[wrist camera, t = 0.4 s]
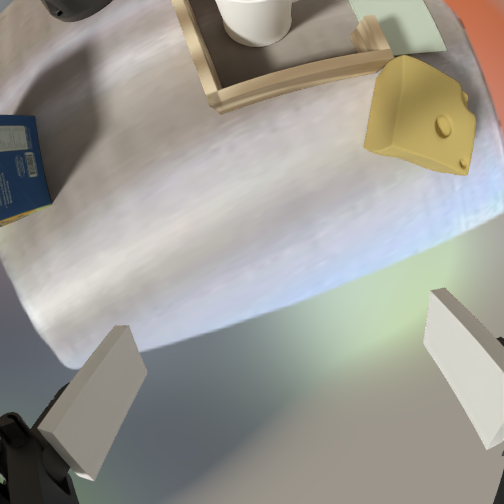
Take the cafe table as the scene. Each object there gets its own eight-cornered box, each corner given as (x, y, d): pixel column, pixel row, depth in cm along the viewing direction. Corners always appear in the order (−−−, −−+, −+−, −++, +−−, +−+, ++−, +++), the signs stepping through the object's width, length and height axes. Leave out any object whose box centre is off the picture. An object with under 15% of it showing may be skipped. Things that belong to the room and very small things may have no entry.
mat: (340, -14, 27) (340, -16, 26) (411, -17, 25) (412, -18, 24) (375, 58, 30) (376, 57, 30) (445, 51, 28) (447, 50, 28)
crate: (173, -15, 28) (156, -38, 21) (310, -51, 25) (315, -78, 18) (221, 114, 34) (209, 105, 27) (374, 73, 31) (394, 58, 24)
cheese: (440, 100, 31) (482, 90, 21) (427, 174, 34) (469, 183, 25) (372, 72, 31) (402, 49, 21) (357, 151, 34) (386, 150, 25)
